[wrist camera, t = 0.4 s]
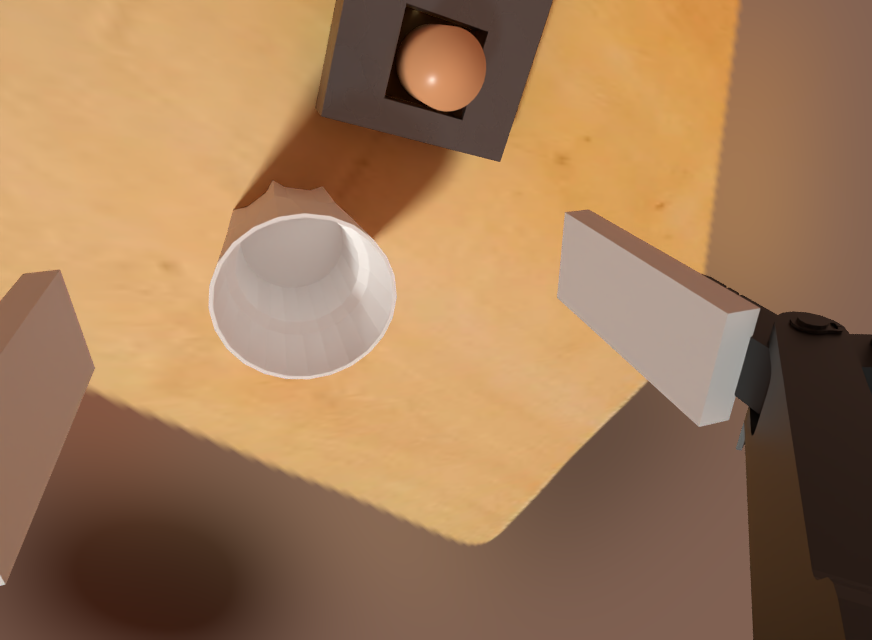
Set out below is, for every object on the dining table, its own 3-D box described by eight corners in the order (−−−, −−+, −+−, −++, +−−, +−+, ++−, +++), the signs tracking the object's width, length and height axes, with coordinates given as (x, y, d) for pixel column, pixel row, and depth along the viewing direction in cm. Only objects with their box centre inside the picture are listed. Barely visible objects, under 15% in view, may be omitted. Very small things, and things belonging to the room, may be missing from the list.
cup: (218, 156, 36) (212, 203, 28) (373, 177, 40) (410, 224, 31) (212, 299, 40) (205, 377, 32) (353, 307, 44) (380, 379, 35)
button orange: (406, 13, 34) (423, 14, 31) (474, 36, 35) (496, 40, 32) (388, 91, 35) (402, 100, 32) (453, 109, 37) (472, 119, 34)
